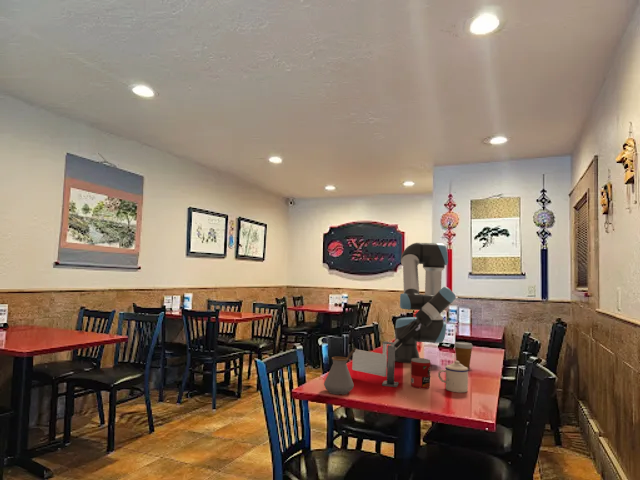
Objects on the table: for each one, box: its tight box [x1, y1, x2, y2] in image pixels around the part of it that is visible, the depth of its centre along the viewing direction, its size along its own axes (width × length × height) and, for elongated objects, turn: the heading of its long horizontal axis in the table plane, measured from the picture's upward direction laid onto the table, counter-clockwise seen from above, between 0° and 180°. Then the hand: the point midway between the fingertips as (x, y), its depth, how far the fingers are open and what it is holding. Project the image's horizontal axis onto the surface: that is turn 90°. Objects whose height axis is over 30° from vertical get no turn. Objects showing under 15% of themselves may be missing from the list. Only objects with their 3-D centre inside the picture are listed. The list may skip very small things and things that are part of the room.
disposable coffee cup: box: [453, 341, 474, 368], centre depth 233 cm, size 10×10×12 cm
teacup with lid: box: [437, 360, 469, 394], centre depth 182 cm, size 12×9×12 cm
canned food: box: [410, 357, 431, 390], centre depth 184 cm, size 8×8×11 cm
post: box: [381, 344, 400, 388], centre depth 185 cm, size 6×6×16 cm
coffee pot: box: [323, 347, 359, 395], centre depth 175 cm, size 21×12×15 cm, turn 152°
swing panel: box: [351, 340, 394, 378], centre depth 192 cm, size 20×2×14 cm, turn 49°
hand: (389, 351), depth 198 cm, fingers closed
